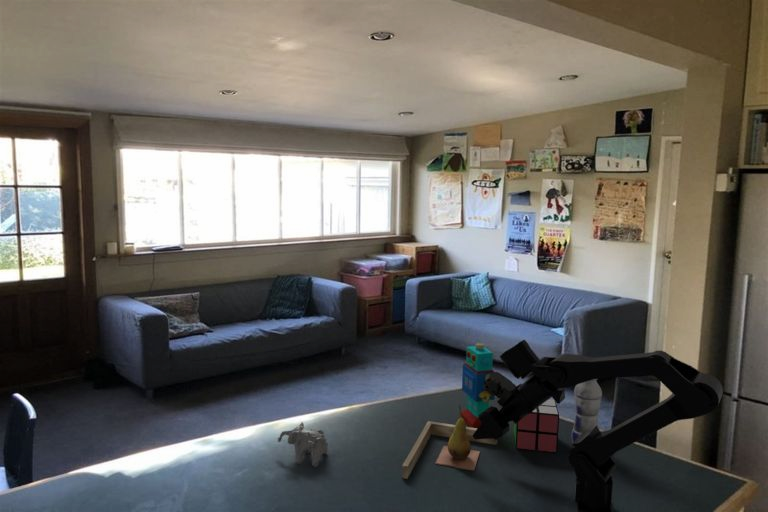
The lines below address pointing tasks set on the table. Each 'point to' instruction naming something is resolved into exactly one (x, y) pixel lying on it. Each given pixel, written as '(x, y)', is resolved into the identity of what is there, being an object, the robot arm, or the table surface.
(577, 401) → the plastic bottle
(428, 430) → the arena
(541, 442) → the puzzle cube
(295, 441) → the elephant statuette
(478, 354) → the toy robot
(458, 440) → the fruit
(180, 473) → the table surface
